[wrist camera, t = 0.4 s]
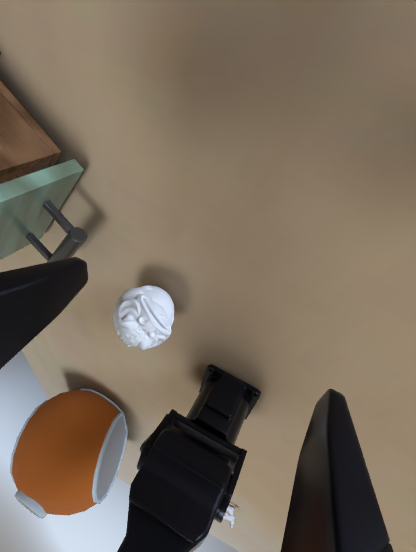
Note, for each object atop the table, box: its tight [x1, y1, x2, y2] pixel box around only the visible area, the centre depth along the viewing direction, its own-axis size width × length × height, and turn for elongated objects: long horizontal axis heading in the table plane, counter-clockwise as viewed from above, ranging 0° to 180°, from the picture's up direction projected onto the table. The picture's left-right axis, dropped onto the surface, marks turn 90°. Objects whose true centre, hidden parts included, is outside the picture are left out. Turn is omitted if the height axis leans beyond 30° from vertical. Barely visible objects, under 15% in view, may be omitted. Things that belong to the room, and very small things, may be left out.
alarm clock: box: [10, 388, 128, 518], centre depth 53 cm, size 19×18×17 cm
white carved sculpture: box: [113, 285, 174, 351], centre depth 29 cm, size 6×7×7 cm
